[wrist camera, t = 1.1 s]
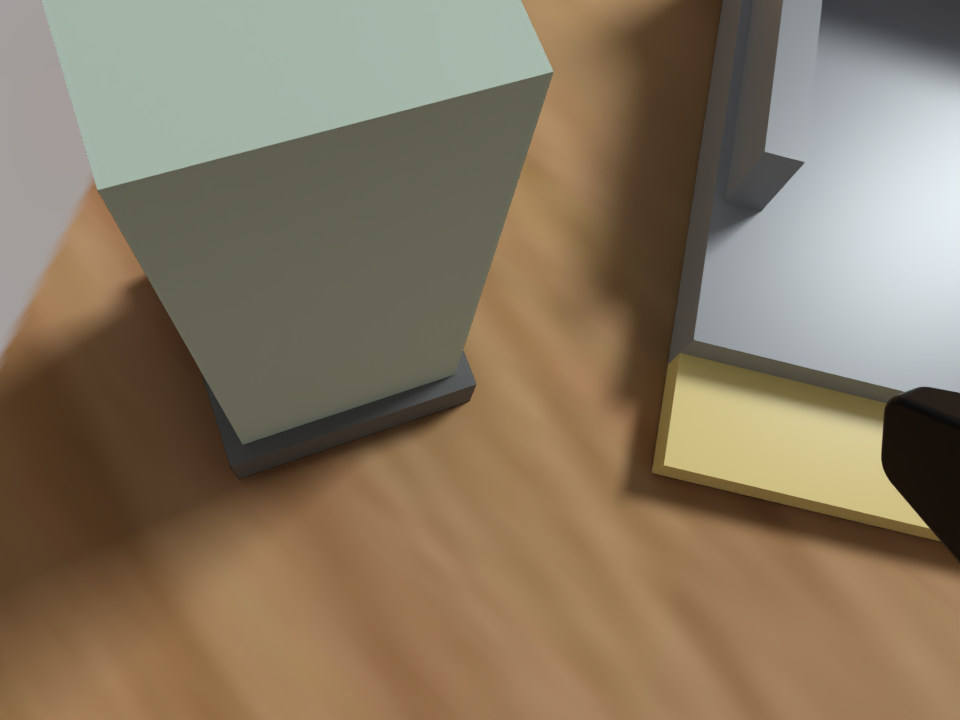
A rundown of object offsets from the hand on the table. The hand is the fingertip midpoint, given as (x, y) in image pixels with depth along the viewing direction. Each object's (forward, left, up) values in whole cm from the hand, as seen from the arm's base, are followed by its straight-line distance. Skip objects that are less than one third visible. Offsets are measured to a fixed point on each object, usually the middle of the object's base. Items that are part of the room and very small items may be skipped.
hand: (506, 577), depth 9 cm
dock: (+4, -17, -13) cm, 22 cm away
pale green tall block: (+8, -1, -13) cm, 15 cm away
